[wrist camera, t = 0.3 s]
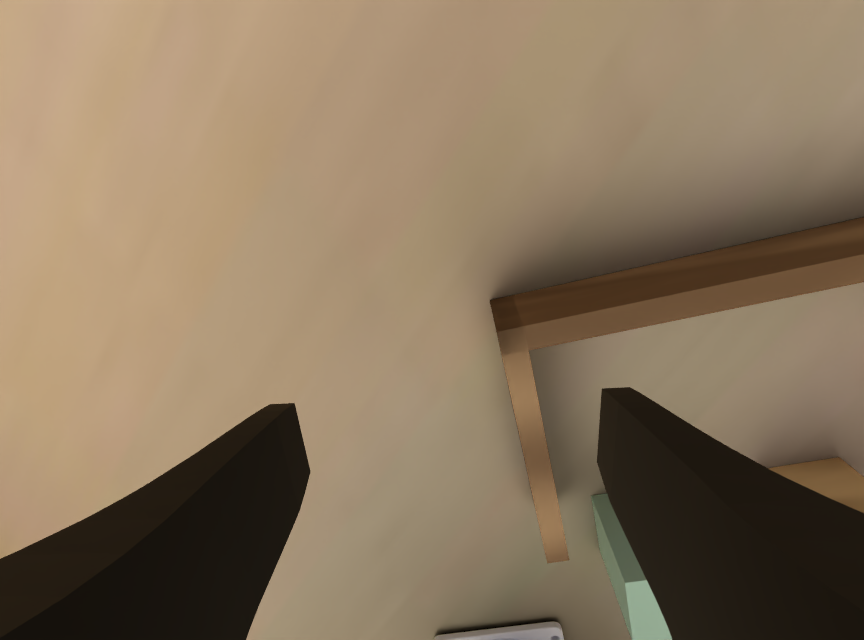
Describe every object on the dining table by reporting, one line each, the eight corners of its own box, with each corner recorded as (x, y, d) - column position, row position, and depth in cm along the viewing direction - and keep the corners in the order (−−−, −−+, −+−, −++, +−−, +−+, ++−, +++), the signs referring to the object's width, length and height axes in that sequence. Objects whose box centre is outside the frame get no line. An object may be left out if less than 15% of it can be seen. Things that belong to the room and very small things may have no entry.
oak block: (832, 517, 23) (927, 611, 18) (751, 528, 24) (823, 622, 19) (837, 456, 22) (943, 541, 17) (751, 470, 22) (830, 556, 18)
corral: (930, 443, 21) (1018, 498, 18) (534, 505, 24) (547, 563, 20) (979, 191, 17) (1105, 202, 14) (489, 300, 19) (496, 331, 16)
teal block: (673, 539, 24) (725, 633, 19) (599, 549, 25) (633, 643, 20) (669, 483, 23) (724, 570, 18) (591, 495, 23) (624, 582, 19)
